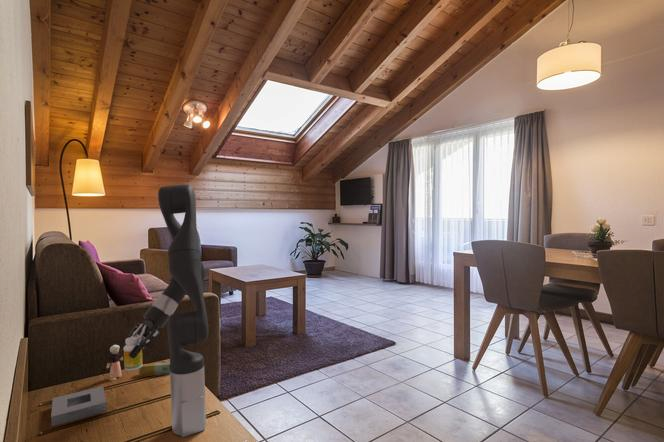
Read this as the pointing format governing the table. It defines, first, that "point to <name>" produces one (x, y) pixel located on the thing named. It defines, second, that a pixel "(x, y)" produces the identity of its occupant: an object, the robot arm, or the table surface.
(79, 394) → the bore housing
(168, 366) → the medication box
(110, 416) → the table surface
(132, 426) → the table surface
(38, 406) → the table surface
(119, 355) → the grandmother figurine
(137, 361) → the supplement bottle
